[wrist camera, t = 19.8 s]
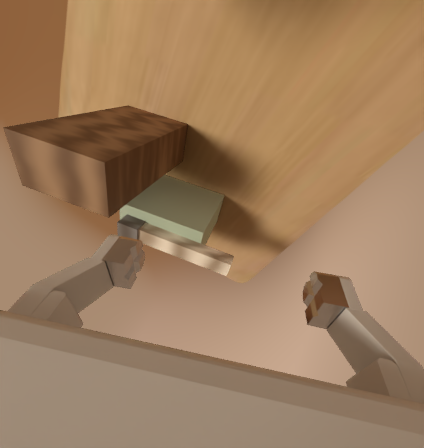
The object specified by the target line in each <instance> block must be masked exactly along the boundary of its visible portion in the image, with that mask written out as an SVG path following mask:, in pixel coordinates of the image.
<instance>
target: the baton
mask: <svg viewBox="0 0 424 448" xmlns="http://www.w3.org/2000/svg"><path fill="white" fill-rule="evenodd" d="M117 225H118V236H123V237H128V238H133V239H138V240H141V241H142V243H143V244H146V245H148V246H151V247H154V248H156V249H159V250H161V251H164V252H166V253H169V254H171V255H174V256H177V257H179V258H182V259H184V260H187V261H189V262H192V263H194V264H197V265H199V266H202V267H204V268H207V269H209V270H212V271H215V272H217V273H220V274H222V275H225V276H227V274H228V271H229V269H230V266H231V264H232V260H233V257H234V256H232V255H230V254H227V253H224V252H222V251H219V250H217V249H214V248H211V247H209V246H206V245H203V244H201V243H198V242H196V241H193V240H190V239H188V238H185V237H182V236H180V235H177V234H175V233H172V232H169V231H167V230H164V229H162V228H159V227H156V226H154V225H151V224H148V223H146V221H144V220H141V219H139V218H136V217H133V216H131V215H128V214H127V215H125V216H124V217H123V218H122V219H121V220H120V221H118V222H117Z"/></svg>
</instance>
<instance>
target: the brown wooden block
mask: <svg viewBox="0 0 424 448" xmlns="http://www.w3.org/2000/svg"><path fill="white" fill-rule="evenodd" d="M187 127H188V124H185V123H182V122H179V121H176V120H173V119H169V118H166V117H163V116H160V115H157V114H153V113H150V112H147V111H144V110H141V109H137V108H134V107H131V106H123V107H117V108H111V109H106V110H100V111H94V112H89V113H83V114H77V115H72V116H66V117H60V118H55V119H49V120H43V121H37V122H32V123H26V124H20V125H15V126H9V127H4V131H5V134H6V137H7V140H8V143H9V146H10V149H11V152H12V155H13V158H14V161H15V164H16V167H17V170H18V173H19V176H20V179H21V182H22V185H23V186H26V187H29V188H31V189H34V190H36V191H39V192H42V193H45V194H47V195H50V196H52V197H55V198H58V199H60V200H63V201H66V202H68V203H71V204H74V205H76V206H79V207H82V208H84V209H87V210H90V211H93V212H95V213H98V214H100V215H103V216H106V217H108V218H109V217H110V216H112V215H113V214H114V213H116V212H117V211H118V210H120V209H121V208H122V207H123V206H125V205H126V204H127V203H129V202H130V201H131V200H132V199H134V198H135V197H136V196H138V195H139V194H140V193H142V192H143V191H144V190H145V189H147V188H148V187H149V186H151V185H152V184H153V183H154V182H156V181H157V180H158V179H160V178H161V177H162V176H163V175H165V174H166V173H167V172H169V171H170V170H171V169H173V168H174V167H175V166H176V165H178V164H179V163H180V162H182V161H183V156H184V148H185V141H186V134H187Z"/></svg>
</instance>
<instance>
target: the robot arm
mask: <svg viewBox="0 0 424 448" xmlns="http://www.w3.org/2000/svg"><path fill="white" fill-rule="evenodd" d="M142 247H143V243H142V241H141V240H138V239H133V238H128V237H123V236H118V235H112V234H111V235H109V236H108V237H107V238H106V240H105V241H104V242H103V243H102V245H101V246H100V247H99V248H98V250H97V251H96V252H95V253H94V255H93V256H92V257H91V258H86V259H84V260H82V261H80V262H78V263H76V264H74V265H72V266H70V267H68V268H66V269H64V270H61V271H59V272H58V273H55V274H53V275H51V276H49V277H47V278H45V279H43V280H41V281H39V282H37V283H35V284H33V285H32V286H31V287H30V288H29V289H28V290H27V291H26V292H25V293H24V294H23V295H22V296H21V297H20V298H19V300H17V301H16V303H15V304H14V305H13V306H12V307H11V308H10V309H9V310H8V311H3V310H0V448H424V369H423V367H422V365H420V363H418V362H417V360H416V359H414V358H413V357H412V356H411V355H410V354H409V353H408V352H407V351H406V350H405V349H404V348H403V347H402V346H401V345H400V344H399V343H398V342H397V341H396V340H395V339H394V338H393V337H392V336H391V335H390V334H389V333H388V332H387V331H386V330H385V329H384V328H383V327H382V326H381V325H380V324H379V323H378V322H377V321H376V320H375V319H374V318H373V317H372V316H371V315H370V314H369V313H368V312H366V311H363V309H362V307H361V304H360V302H359V299H358V296H357V294H356V292H355V289H354V287H353V284H352V281H351V279H350V278H348V277H342V276H336V275H332V274H326V273H319V272H313V273H311V275H310V281H308V282H306V284H305V286H304V290H303V301H304V303H305V304H306V305H307V309H306V310H305V313H306V319H307V324H308V325H311V326H316V327H319V328H324V329H327V331H328V333H329V334H330V336H331V337H332V339H333V340H334V342H335V343H336V345H337V346H338V347H339V349H340V350H341V352H342V353H343V355H344V356H345V358H346V359H347V361H348V362H349V363H350V365H351V366H352V368H353V369H354V371H355V372H356V375H354V376H353V377H352V378H350V379H349V380H348V381H347V382H346V384H347V387H345V386H341V385H336V384H332V383H327V382H323V381H319V380H314V379H310V378H305V377H301V376H296V375H291V374H287V373H283V372H278V371H274V370H269V369H264V368H260V367H256V366H251V365H247V364H242V363H237V362H233V361H228V360H224V359H219V358H214V357H210V356H206V355H201V354H197V353H192V352H188V351H183V350H179V349H174V348H170V347H165V346H161V345H156V344H152V343H147V342H142V341H138V340H134V339H129V338H124V337H120V336H115V335H111V334H107V333H101V332H98V331H93V330H88V329H84V328H81V327H82V325H83V322H82V320H81V318H80V317H79V315H78V313H79V312H80V311H82V310H83V309H84V308H86V307H87V306H88V305H90V304H91V303H93V302H94V301H95V300H97V299H98V298H99V297H101V296H102V295H103V294H105V293H106V292H107V291H109V290H110V289H111V288H113V286H117V287H122V288H128V289H131V287H132V285H133V283H134V281H135V280H136V273H137V272H139V271H140V270H141V268H142V266H143V264H144V260H145V254H144V251H143V250H142Z"/></svg>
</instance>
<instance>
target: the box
mask: <svg viewBox="0 0 424 448" xmlns="http://www.w3.org/2000/svg"><path fill="white" fill-rule="evenodd" d="M223 199H224V195H222V194H219V193H217V192H214V191H211V190H208V189H205V188H202V187H199V186H196V185H193V184H190V183H187V182H184V181H182V180H179V179H176V178H173V177H170V176H167V175H163V176H162V177H161V178H160V179H158V180H157V181H156V182H154V183H153V184H152V185H151V186H149V187H148V188H147V189H145V190H144V191H143V192H142V193H140V194H139V195H138V196H136V197H135V198H134V199H132V200H131V201H130V202H129V203H127V204H126V205H125V206H123V207H122V208H121V209H120V220H121V219H122V218H123V217H124V216H125V215H127V214H128V215H131V216H133V217H136V218H139V219H141V220H144V221H146V223H148V224H151V225H154V226H156V227H159V228H162V229H164V230H167V231H169V232H172V233H175V234H177V235H180V236H182V237H185V238H188V239H190V240H193V241H196V242H198V243H201V244H203V245H205V244H206V242H207V240H208V238H209V236H210V234H211V232H212V230H213V228H214V226H215V224H216V223H217V220H218V216H219V213H220V209H221V206H222V202H223Z"/></svg>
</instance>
